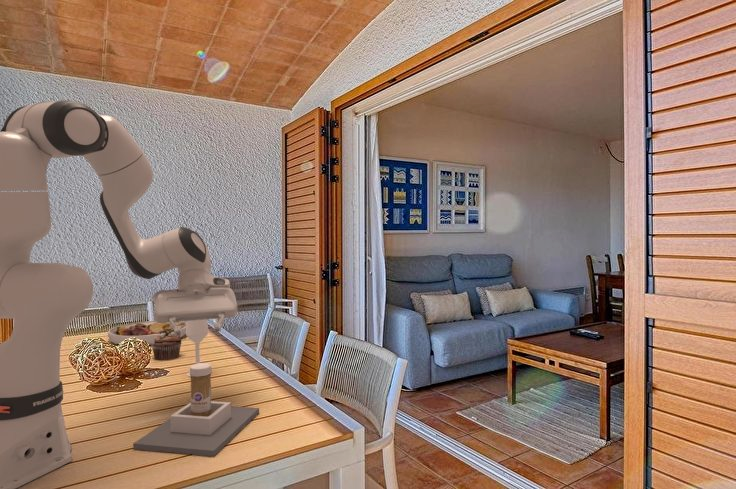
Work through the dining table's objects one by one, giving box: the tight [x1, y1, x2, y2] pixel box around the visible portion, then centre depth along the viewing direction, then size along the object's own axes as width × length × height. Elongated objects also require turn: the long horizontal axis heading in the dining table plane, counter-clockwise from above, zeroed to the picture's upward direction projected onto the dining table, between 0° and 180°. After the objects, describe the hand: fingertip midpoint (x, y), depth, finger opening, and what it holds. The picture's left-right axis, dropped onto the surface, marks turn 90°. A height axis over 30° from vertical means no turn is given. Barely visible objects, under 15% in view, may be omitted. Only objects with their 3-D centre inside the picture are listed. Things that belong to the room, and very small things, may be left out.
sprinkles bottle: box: [189, 362, 212, 417], centre depth 103 cm, size 5×5×13 cm
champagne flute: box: [185, 319, 209, 378], centre depth 144 cm, size 7×7×24 cm
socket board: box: [132, 400, 260, 458], centre depth 103 cm, size 22×18×5 cm
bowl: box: [107, 320, 187, 346], centre depth 190 cm, size 30×30×8 cm
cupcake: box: [151, 329, 182, 361], centre depth 162 cm, size 10×10×10 cm
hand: (198, 332), depth 114 cm, fingers open, 8 cm apart
